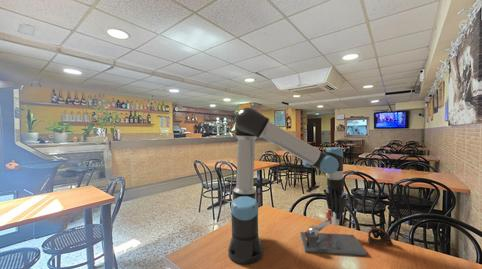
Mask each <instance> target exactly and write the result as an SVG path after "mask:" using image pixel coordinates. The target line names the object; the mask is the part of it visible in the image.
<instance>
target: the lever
mask: <svg viewBox="0 0 482 269" xmlns="http://www.w3.org/2000/svg"><path fill="white" fill-rule="evenodd" d="M325 215H326V216H325V220H323V221H322V222H320V223H318V225H316V226H314V225H310V226H308V229H307V230H306V231H304V232H305V236H306V237H308V238H309V235H316V236H317V241H318V240H319V233H320V231H322V230H323V229H325V228H326V227H328V226H329V225H331V224H332V225H333V217H332V211H331V210H330V209H326V210H325Z"/></svg>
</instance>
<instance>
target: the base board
mask: <svg viewBox="0 0 482 269" xmlns="http://www.w3.org/2000/svg"><path fill="white" fill-rule="evenodd" d="M305 232H306V231H300V238H301V241H302V245H303V246H302V247H303V249H304V252H305V253H314V254H329V255H344V256H345V255H346V256H357V257H358V256H362V257H367V250H365V248H364V246H363V245H362V244H361V242H360V241H359V240H358V239H357V238H356V237H355V235H354V234H345V233H343V234H342V233H326V232H322V233H321V232H319V240H318V241H317V236H316V235H309V243H307V242H306V236H305Z"/></svg>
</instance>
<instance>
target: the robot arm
mask: <svg viewBox="0 0 482 269" xmlns="http://www.w3.org/2000/svg"><path fill="white" fill-rule="evenodd" d="M234 121H235V128H234V130H235V131H234V136H235V137H236V139H237V154H236V155H237V157H236V158H237V160H236V183H235V184H236V185H235V187H234V188H233V189H232V201H231V205H230V211H231V238H230V242H229V245H228V250H227V254H228V257H229V259H230V260H231V261H232V260H233V261H232V262H234V263H236V264H239V265H250V264H254V263H257V262H259V261H260V260H261V259H262V257H263V256H264V252H263V250H264V248H263V246H262V243H261V239H260V237H259V205H258V200H257V190H256V189H255V188H254V178H255V177H254V175H255V173H254V172H255V153H256V152H255V149H256V140H257V139H260V138H262V139H264V140H266V141H268V142H269V143H272V144H273V145H275V146H277V147H278V148H280V149H282V150H284V151H286V152H287V153H289V154H291V155H293V156H294V157H296V158H298V159H300V160H301V161H302V165H303V167H305V168H314V169H316V170H319V171H320V172H322V173H324V174H326V185H327V188H326V189H323V193H324V195H325V200H326V205H327V210H331V211H332V225H333V226H334V227H336V226H339V225H340V219H341V213H345V209H346V204H347V200H348V198H349V194H348V193H347V194H346V192H345V190H344V152H343V149H342V148H341V147H333V146H331V147H327V148H326V150H325V151H321V150H320V149H318V148H317V147H314V145H311V144H310V143H308V142H306V141H304V140H303V139H301V138H299V137H297V136H295V135H294V134H292V133H290V132H289V131H286V130H285V129H283V128H281V127H280V126H278V125H276V124H274V123H273V122H271V119H270V118H268V117H267V116H265V115H263V114H262V113H261V112H259V111H258V110H256V109H255V108H253V107H249V106H248V107H244V108H241V109H240V110H238V112H237V113H236V115H235V119H234Z"/></svg>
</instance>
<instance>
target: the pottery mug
mask: <svg viewBox="0 0 482 269" xmlns="http://www.w3.org/2000/svg"><path fill="white" fill-rule="evenodd" d="M367 235H368V240H367V241H368V243H369V245H374V246H382V245H390V246H391V247H393V241H392V239H391V235H390V234H389V233H388V232H387V231H385V230H384V229H383V228H379V227H376V226H375V225H371V227H370V229H369V231H368V234H367ZM371 235H372V236H373V237H372V236H371ZM379 237H380V238H379Z"/></svg>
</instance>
